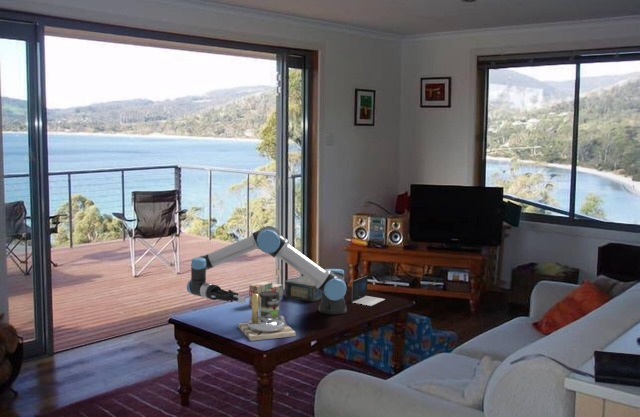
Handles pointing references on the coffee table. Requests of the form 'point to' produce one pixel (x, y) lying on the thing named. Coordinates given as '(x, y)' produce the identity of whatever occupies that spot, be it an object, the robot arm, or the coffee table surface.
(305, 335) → the coffee table surface
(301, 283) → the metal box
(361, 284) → the laptop
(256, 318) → the disc stand with rod
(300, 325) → the coffee table surface
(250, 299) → the stack of blocks
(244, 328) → the base board
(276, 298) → the coffee can
